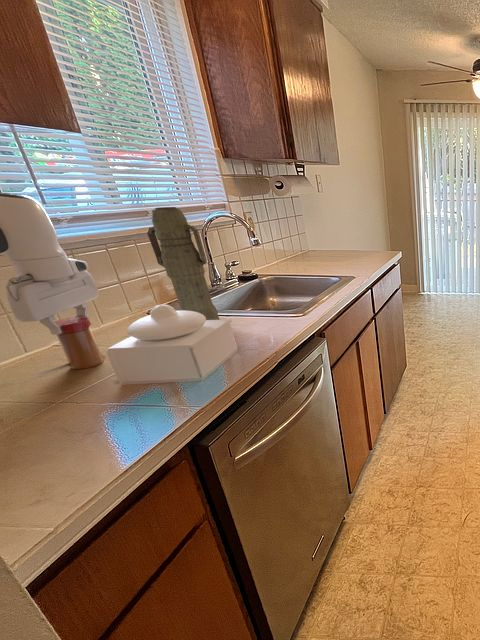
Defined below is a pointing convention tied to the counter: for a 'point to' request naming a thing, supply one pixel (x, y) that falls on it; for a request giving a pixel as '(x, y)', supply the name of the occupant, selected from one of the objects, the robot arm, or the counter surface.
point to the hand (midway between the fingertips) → (71, 327)
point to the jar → (80, 348)
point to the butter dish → (172, 347)
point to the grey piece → (182, 260)
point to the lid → (74, 323)
